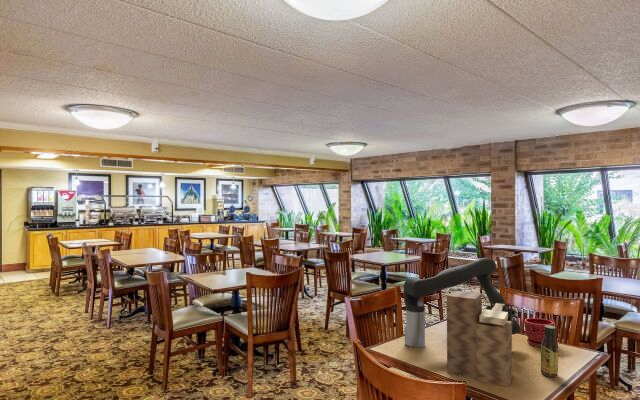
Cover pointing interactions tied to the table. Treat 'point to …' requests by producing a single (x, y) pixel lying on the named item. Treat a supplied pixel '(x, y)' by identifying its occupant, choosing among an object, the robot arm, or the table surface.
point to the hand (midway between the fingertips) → (498, 306)
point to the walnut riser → (477, 341)
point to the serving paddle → (494, 315)
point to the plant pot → (536, 330)
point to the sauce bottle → (549, 353)
